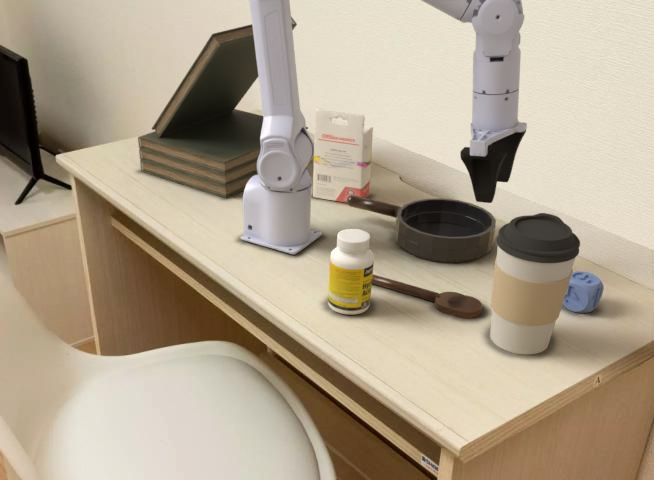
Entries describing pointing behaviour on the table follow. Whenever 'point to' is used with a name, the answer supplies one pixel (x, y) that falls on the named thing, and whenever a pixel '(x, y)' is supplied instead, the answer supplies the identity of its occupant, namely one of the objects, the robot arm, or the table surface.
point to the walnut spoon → (437, 298)
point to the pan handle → (373, 205)
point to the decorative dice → (583, 292)
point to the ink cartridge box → (341, 156)
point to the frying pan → (445, 230)
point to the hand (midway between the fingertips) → (492, 191)
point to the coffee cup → (530, 281)
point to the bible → (209, 120)
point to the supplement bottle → (351, 273)
